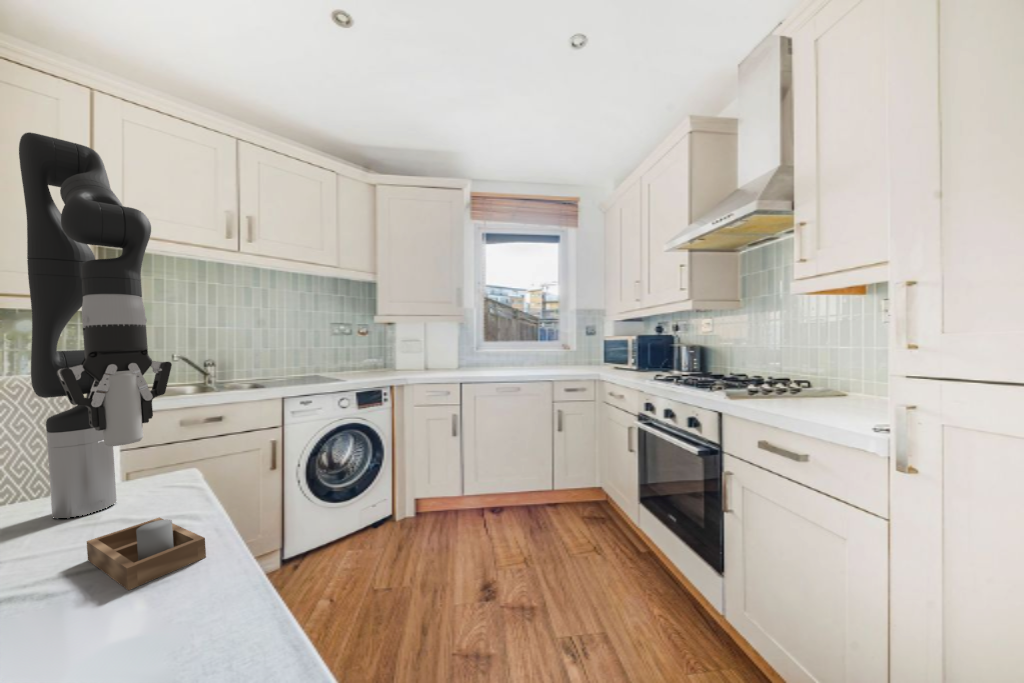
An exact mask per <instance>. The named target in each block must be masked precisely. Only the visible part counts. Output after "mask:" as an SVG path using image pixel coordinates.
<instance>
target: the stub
mask: <svg viewBox="0 0 1024 683" xmlns="http://www.w3.org/2000/svg"><path fill="white" fill-rule="evenodd" d="M172 523H173V521H172V519H169V518H168V519H164V520H159V521H154V522H151V523H148V524H145V525H143V526H141V527H139V528H138V529H137V530H136V533H137V549H138V561H140V560H142V559H145V558H147V557H150V556H153V555H155V554H158V553H160V552H163V551H166V550H168V549H171V548H173V547H174V545H173V529H172Z"/></svg>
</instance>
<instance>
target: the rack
mask: <svg viewBox="0 0 1024 683" xmlns="http://www.w3.org/2000/svg"><path fill="white" fill-rule="evenodd" d="M159 520H165V519H164V518H162V517H156V518H154V519H153V518H152V519H150V520H147V521H144V522H141V523H138V524H135V525H132V526H128V527H126V528H123V529H120V530H117V531H112V532H111V533H107V534H104V535H101V536H98V537H96V538H91V539H89V540H87V541H86V554H87V555H86V556H87V561H88V562H90V563H91V564H92V565H93V566H95V567H96V568H98V569H99V570H100V571H101V572H102V573H104V574H106V575H107V576H109V577H110V578H111V579H113V580H114V581H115V582H116V583H118V584H119V585H120V586H122V587H123V588H124V589H126V590H127V591H130V590H133V589H135V588H138V587H140V586H142V585H145V584H147V583H149V582H151V581H153V580H156V579H158V578H160V577H164V576H166V575H167V574H170V573H172V572H175V571H177V570H179V569H182V568H184V567H187V566H188V565H190V564H193V563H196V562H199V561H200V560H203V559H205V558H207V552H206V550H207V548H206V538H205V537H204V536H201V535H199V534H198V533H195V532H193V531H190V530H188V529H186V528H184V527H181V526H180V525H177V524H175V523H173V522H172V529H173V545H174V547H173V548H171V549H168V550H166V551H163V552H160V553H158V554H155V555H153V556H150V557H147V558H145V559H142V560H140V561H138V549H137V533H136V530H137V529H138V528H139V527H141V526H143V525H145V524H148V523H151V522H154V521H159Z"/></svg>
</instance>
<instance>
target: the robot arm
mask: <svg viewBox="0 0 1024 683" xmlns="http://www.w3.org/2000/svg"><path fill="white" fill-rule="evenodd" d="M18 156H19V157H18V159H19V168H20V175H21V182H22V188H23V189H22V190H23V197H24V203H25V212H26V213H25V214H26V239H27V242H26V243H27V244H26V246H27V250H26V252H27V253H26V255H27V257H26V262H27V263H26V264H27V275H28V276H27V278H28V279H27V280H28V287H29V295H30V296H29V297H30V305H31V306H30V308H31V323H32V324H31V351H30V352H31V353H30V355H31V356H30V381H31V387H32V389H33V392H34V393H35V394H36V396H37V397H39V398H45V399H46V398H47V399H48V398H57V397H58V398H59V397H67V399H68V400H69V403H70V404H71V405H74V407H72V408H70V409H67V410H65V411H61V412H59V413H57V414H53V415H51V416H50V417H48V418H47V419H46V422H45V430H46V444H47V456H48V471H49V472H48V473H49V486H50V504H51V515H52V516H51V518H52V517H54V518H67V519H71V518H70V517H74V518H77V517H76V516H79V517H82V515H83V516H87V514H88V515H91V514H94V513H93V512H95V513H97V512H96V511H98V512H100V511H99V510H101V509H104V508H106V507H109V506H111V505H113V504H114V503H116V504H117V502H116V501H117V500H118V499H117V487H116V486H117V485H116V469H115V457H114V456H115V454H114V446H107V445H106V444H104V437H103V430H105V414H104V407H102V405H101V404H102V402H103V399H104V397H105V394H106V393H107V392H108V389H109V387H110V386H109V376H111V375H114V374H115V373H114V372H117V371H131V370H133V372H132V373H135V374H137V376H138V377H137V385H138V388H139V390H140V396H141V410H142V424H148V423H149V422H150V420H151V419H153V416H154V414H153V412H154V410H153V400H154V399H155V398H157V397H160V396H163V395H164V394H166V390H167V387H168V384H169V383H168V382H169V378H170V374H171V371H172V370H171V369H172V365H173V364H172V362H171V361H159V360H157V361H156V360H152V358H151V357H150V355H149V348H148V346H149V345H148V337H147V333H148V332H147V322H148V321H147V316H146V309H145V306H144V300H143V290H142V275H141V274H142V266H143V261H144V257H145V253H146V251H147V247H148V244H149V241H150V238H151V234H152V225H151V221H150V220H149V218H148V217H147V215H146V214H145V213H144V212H142V211H141V210H140V209H137V208H134V207H129V206H123V204H122V202H121V201H120V199H119V198H118V197H117V195H116V194H115V193H114V191H113V190H112V189H111V185H110V181H109V177H108V173H107V171H106V167H105V164H104V162H103V160H102V158H101V156H100V154H99V153H98V152H97V151H96V150H94V149H93V148H91V147H89V146H86V145H83V144H80V143H76V142H73V141H69V140H64V139H60V138H56V137H53V136H48V135H44V134H40V133H37V132H35V133H34V132H31V131H30V132H25V133H23V134H22V135H21V137H20V139H19V144H18ZM49 186H51V187H56V188H57V187H58V188H59V190H60V192H59V193H60V197H61V200H62V202H63V204H64V205H63V208H62V211H60V209H59V208H58V207H57V204H56V203H55V202H54V201H55V200H54V199H53V197H52V194H51V191H50V188H49ZM89 245H90V246H98V247H99V246H100V247H109V248H116V249H118V248H119V249H122V250H121V251H122V252H121V255H120V256H118V257H113V258H99V259H98V258H96V256H95V254H94V252H93V250H92V249H91V247H90V246H89ZM80 309H81V320H82V321H81V322H82V336H83V349H82V350H81V349H78V350H77V349H75V350H58V349H57V348H58V344H59V340H60V337H61V335H62V333H63V331H64V329H65V327H66V326H67V324H68V323H69V321H70V320H71V319H72V318H73V317H74V316H75V314H76V313H77V312H78V311H79V310H80ZM150 368H152V373H154V374H155V376H154V378H153V382H152V386H151V387H152V388H151V390H150V389H149V386H148V383H147V381H146V379H145V377H144V375H145V374H146V372H147V371H149V369H150ZM107 378H108V380H106V379H107ZM104 384H105V385H104ZM84 395H86V396H84ZM114 505H115V504H114ZM114 505H113V506H114ZM111 507H112V506H111ZM109 508H110V507H109ZM106 509H107V508H106ZM104 510H105V509H104ZM101 511H102V510H101ZM90 513H91V514H90Z"/></svg>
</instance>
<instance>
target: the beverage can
mask: <svg viewBox="0 0 1024 683" xmlns="http://www.w3.org/2000/svg"><path fill="white" fill-rule="evenodd" d="M132 372H133V370H131V371H117V372H114V373H115V374H114V375H111V376H109V386H110V387H109V389H108V392H107V393H106V394H105V397H104V399H103V402H102V404H101V405H102V407H104V414H105V430H103V437H104V444H106V445H107V446H113V447H119V446H124V445H125V446H126V445H130V444H135V443H139V442H141V441H142V439H143V438H144V428H143V423H142V410H141V396H140V390H139V388H138V385H137V377H138V376H137V374H135V373H132ZM106 380H108V378H107V379H106ZM104 385H105V384H104Z"/></svg>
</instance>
